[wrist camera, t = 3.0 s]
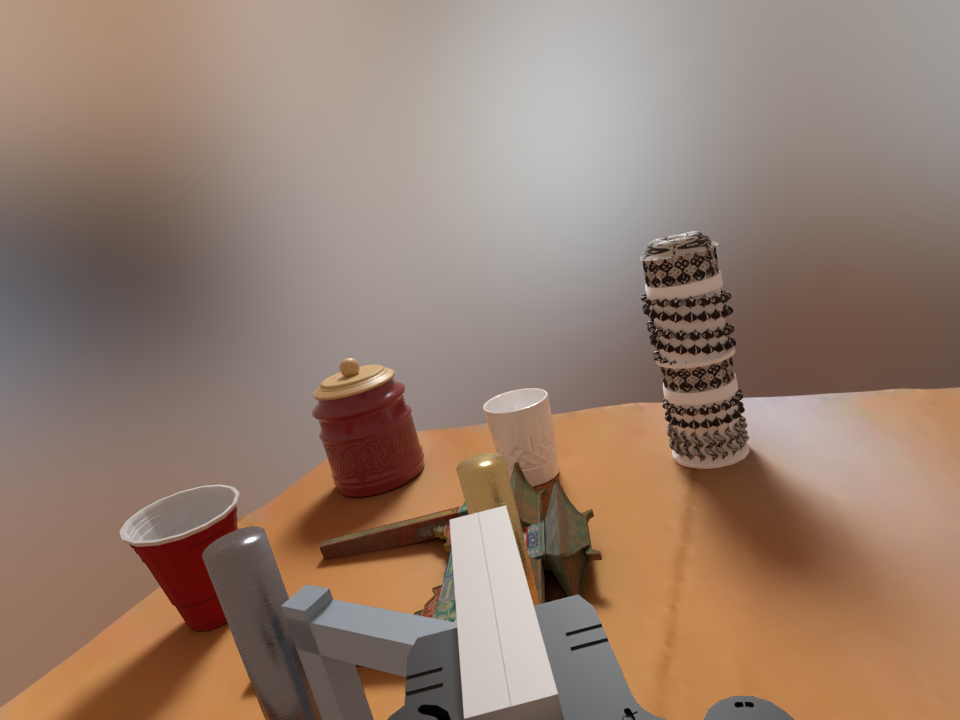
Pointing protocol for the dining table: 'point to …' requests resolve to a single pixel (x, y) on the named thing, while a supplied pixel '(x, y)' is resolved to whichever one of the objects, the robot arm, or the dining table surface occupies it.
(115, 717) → the dining table surface
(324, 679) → the grey rectangular frame
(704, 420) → the decorative candle
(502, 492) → the latch post
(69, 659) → the dining table surface
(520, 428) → the white cup
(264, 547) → the hinge post
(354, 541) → the miniature gate
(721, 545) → the dining table surface
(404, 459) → the canister
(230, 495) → the plastic cup
